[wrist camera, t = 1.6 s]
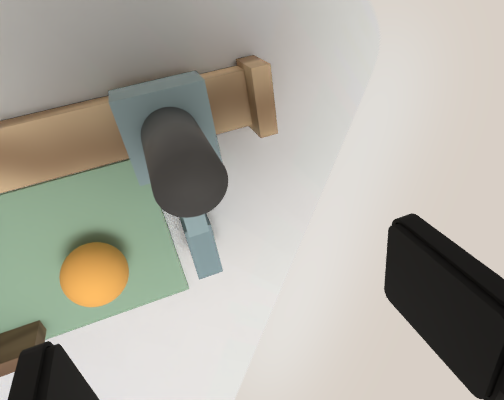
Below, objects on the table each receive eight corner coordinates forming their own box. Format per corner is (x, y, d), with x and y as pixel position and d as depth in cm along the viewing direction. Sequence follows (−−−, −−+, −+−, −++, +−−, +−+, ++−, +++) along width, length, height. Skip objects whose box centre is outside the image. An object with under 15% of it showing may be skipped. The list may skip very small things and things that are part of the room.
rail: (-166, 151, 19) (-205, 177, 16) (253, 55, 23) (270, 63, 21) (-107, 218, 21) (-135, 248, 19) (262, 119, 26) (277, 133, 24)
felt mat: (-209, 251, 20) (-212, 253, 20) (142, 155, 24) (142, 156, 24) (-65, 376, 28) (-66, 378, 28) (188, 287, 32) (189, 288, 31)
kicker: (108, 84, 21) (109, 147, 13) (191, 65, 22) (238, 113, 14) (170, 256, 29) (194, 360, 21) (230, 236, 30) (274, 329, 22)
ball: (51, 241, 25) (42, 284, 22) (115, 222, 26) (117, 260, 22) (77, 285, 28) (73, 330, 24) (135, 266, 28) (139, 306, 25)
